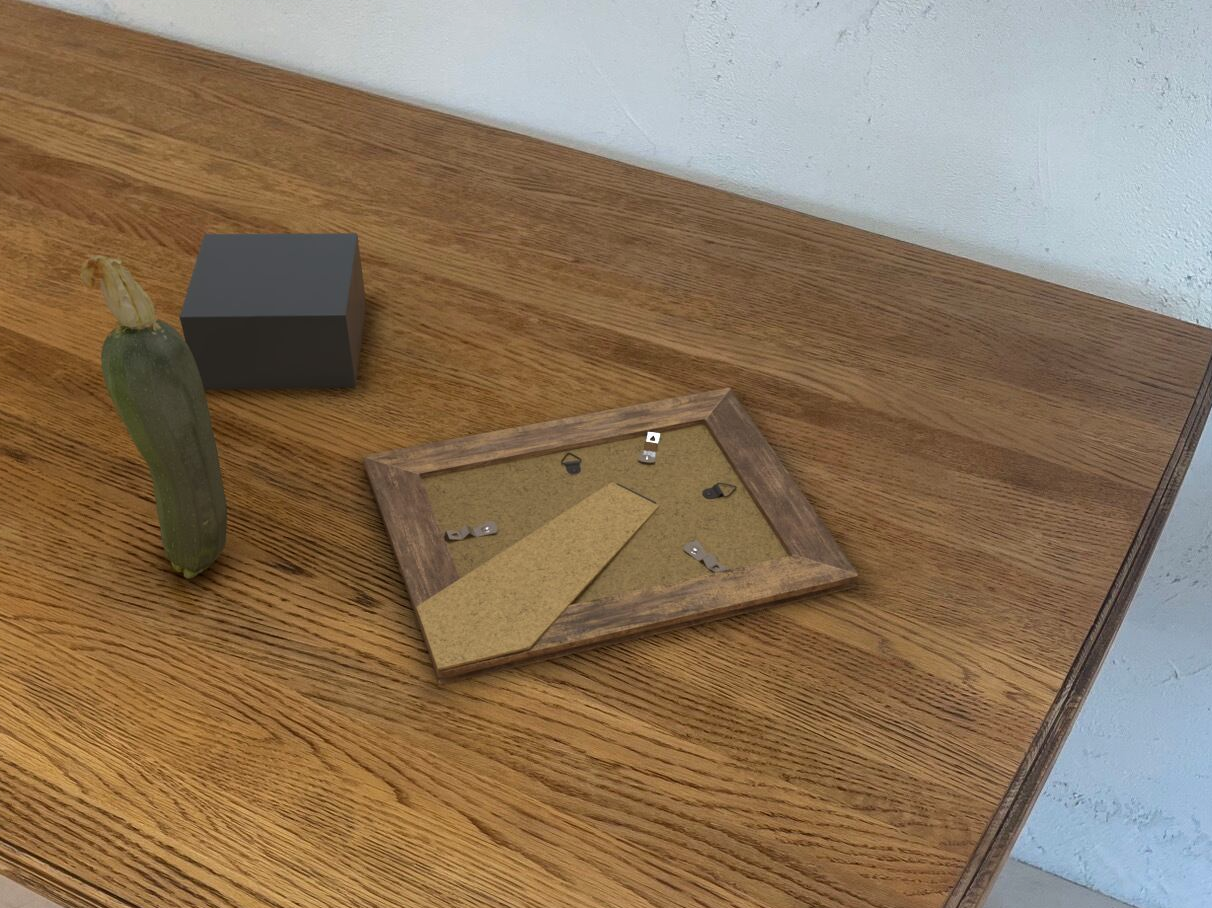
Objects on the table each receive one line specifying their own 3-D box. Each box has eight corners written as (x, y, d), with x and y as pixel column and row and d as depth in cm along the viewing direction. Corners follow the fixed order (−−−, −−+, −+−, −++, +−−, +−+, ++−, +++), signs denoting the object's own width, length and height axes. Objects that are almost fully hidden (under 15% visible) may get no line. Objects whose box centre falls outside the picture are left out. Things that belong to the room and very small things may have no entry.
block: (198, 398, 86) (179, 316, 82) (220, 313, 93) (203, 233, 89) (357, 395, 87) (345, 314, 83) (367, 311, 94) (357, 232, 90)
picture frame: (440, 693, 69) (854, 595, 75) (437, 669, 68) (859, 571, 74) (365, 475, 81) (727, 406, 88) (361, 452, 80) (730, 383, 86)
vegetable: (248, 548, 76) (174, 224, 62) (246, 601, 74) (167, 273, 59) (168, 555, 76) (73, 230, 62) (162, 609, 73) (62, 280, 59)
